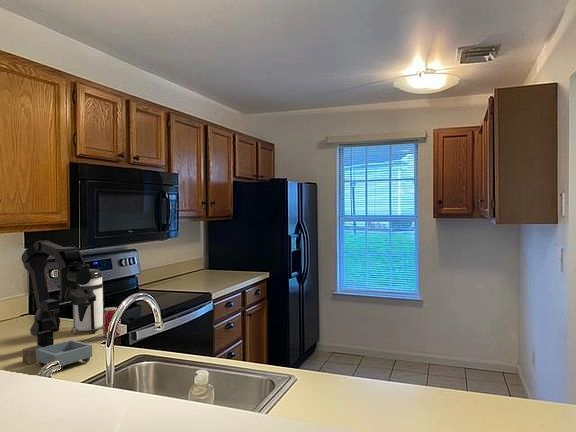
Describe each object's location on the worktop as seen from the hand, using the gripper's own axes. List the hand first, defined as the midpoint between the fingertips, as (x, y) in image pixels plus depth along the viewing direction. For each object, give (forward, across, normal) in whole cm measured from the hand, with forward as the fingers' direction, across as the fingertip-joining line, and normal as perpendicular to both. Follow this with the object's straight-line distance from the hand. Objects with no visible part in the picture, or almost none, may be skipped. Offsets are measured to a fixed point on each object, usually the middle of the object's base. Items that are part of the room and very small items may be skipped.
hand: (69, 324), depth 163 cm
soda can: (+13, +25, +9) cm, 29 cm away
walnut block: (+12, -9, +7) cm, 17 cm away
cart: (+12, -5, -5) cm, 14 cm away
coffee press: (+13, +26, +27) cm, 40 cm away
